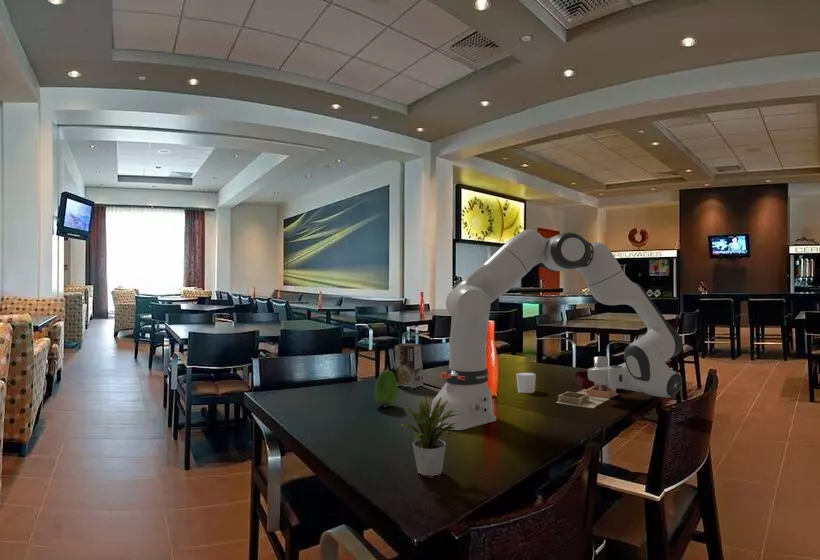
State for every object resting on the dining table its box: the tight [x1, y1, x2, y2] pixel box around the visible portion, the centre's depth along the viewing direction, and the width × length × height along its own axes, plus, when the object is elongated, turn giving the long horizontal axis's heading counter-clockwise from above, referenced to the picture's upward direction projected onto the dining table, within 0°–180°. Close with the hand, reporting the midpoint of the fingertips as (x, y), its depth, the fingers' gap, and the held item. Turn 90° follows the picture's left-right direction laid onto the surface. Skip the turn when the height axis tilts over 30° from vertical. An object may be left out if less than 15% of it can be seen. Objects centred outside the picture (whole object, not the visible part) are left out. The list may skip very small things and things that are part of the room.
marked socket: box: [586, 386, 617, 400], centre depth 172 cm, size 7×7×2 cm
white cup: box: [515, 371, 537, 394], centre depth 179 cm, size 7×7×7 cm
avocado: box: [373, 369, 399, 407], centre depth 163 cm, size 8×8×12 cm
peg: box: [593, 355, 609, 392], centre depth 172 cm, size 4×4×12 cm
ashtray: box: [573, 369, 609, 390], centre depth 187 cm, size 18×16×5 cm
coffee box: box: [394, 342, 424, 389], centre depth 194 cm, size 9×6×16 cm
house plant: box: [400, 396, 464, 476], centre depth 106 cm, size 14×14×16 cm
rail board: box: [555, 389, 619, 409], centre depth 168 cm, size 24×12×3 cm, turn 140°
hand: (599, 369), depth 173 cm, fingers closed on peg, 4 cm apart
